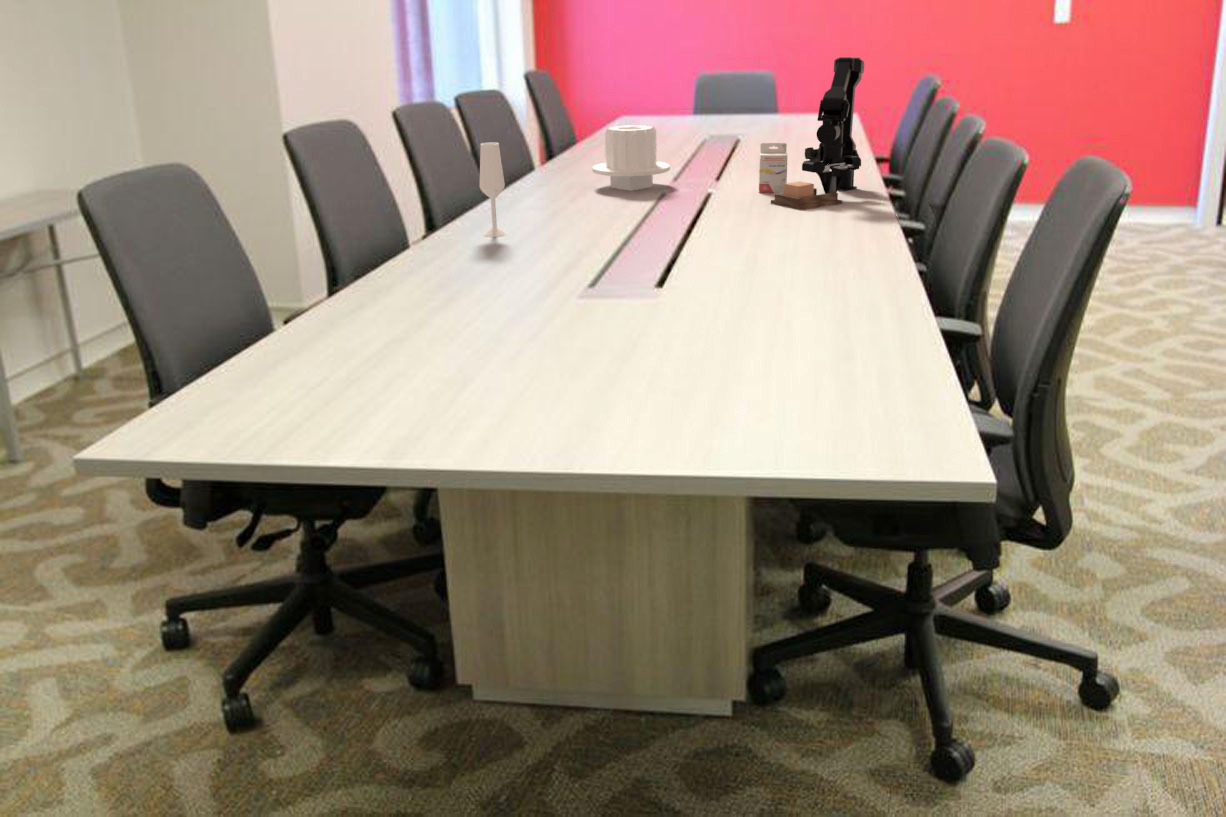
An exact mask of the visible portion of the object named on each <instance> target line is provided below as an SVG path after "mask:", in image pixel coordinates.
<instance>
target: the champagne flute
mask: <svg viewBox="0 0 1226 817" xmlns="http://www.w3.org/2000/svg"><path fill="white" fill-rule="evenodd" d="M500 151H501V150H500V143H499V142H496V141H495V142H494V141H493V142H482V143H480V153H479V154H480V155H479V156H480V157H479V189H480V191H482V193H483V194H484V195H486V196H487V198H490V206H491V207H490V208H491V210H490V211H491V221H492V222H491V223H492V227H491V228H489V229H488V230H486V231H485V232H484V233H483V234H482V236H483V237H490V238H493V237H495V238H496V237H497V238H498V237H504V236H506V235H507V236H508V232H506V231H504V230H503V229H501V228H499V227H498V224H497V207H496V206H497V205H496V204H497V203H496V199H497V198H498V197H499V195H501V193H502V192H503V191H504V189H505V187H506V186H505V185H506V184H505V177H504V176H505V175H504V171H503V169H504V168H503V164H502V158H501V152H500Z"/></svg>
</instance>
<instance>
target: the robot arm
mask: <svg viewBox="0 0 1226 817" xmlns="http://www.w3.org/2000/svg"><path fill="white" fill-rule="evenodd" d="M864 72H865V62H864V60H862V59H861V57H851V56H849V57H848V56H847V57H845V56H843V57H837V58H836V59H834V62H833V73H834V74H833V78H832V80H831V86H830V88H829V89H828V90H826V91H825V92H824V95H823V97H822V99H820V102H819V107H818V108H819V109H818V115H817V121H818V122H822V124H821V125H820V126H819V127H818V128H817V131H816V138H817V140H818V142H819V145H818V148H814V147H807V148H804V159H805V160H804V161H803V162H802V163H801V171H803V172H809V173H815V174H816V175H817V176H818V177H819V180H820V182H821V183H820V184H821V186H822V188H823V192H824V194H827V193H828V192H829V189H830V184H831V179H832V176H836V192H837V193H838V191H847V190H854V189H857V188H858V187H857V186H856V185H855V184H854V181H855V178H854V177H855V171H857V170H860V167H862V158H861V157H860V155H859V153H858V150H857V149H856V148H857V145H856V143H855V141H854V139H853V136H852V135H853V133H852V132H853V121H854V108H855V107H854V106H855V96H856V88H857V86H858V85H859V83H860V82H861V80H862V75H863V74H864Z"/></svg>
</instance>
